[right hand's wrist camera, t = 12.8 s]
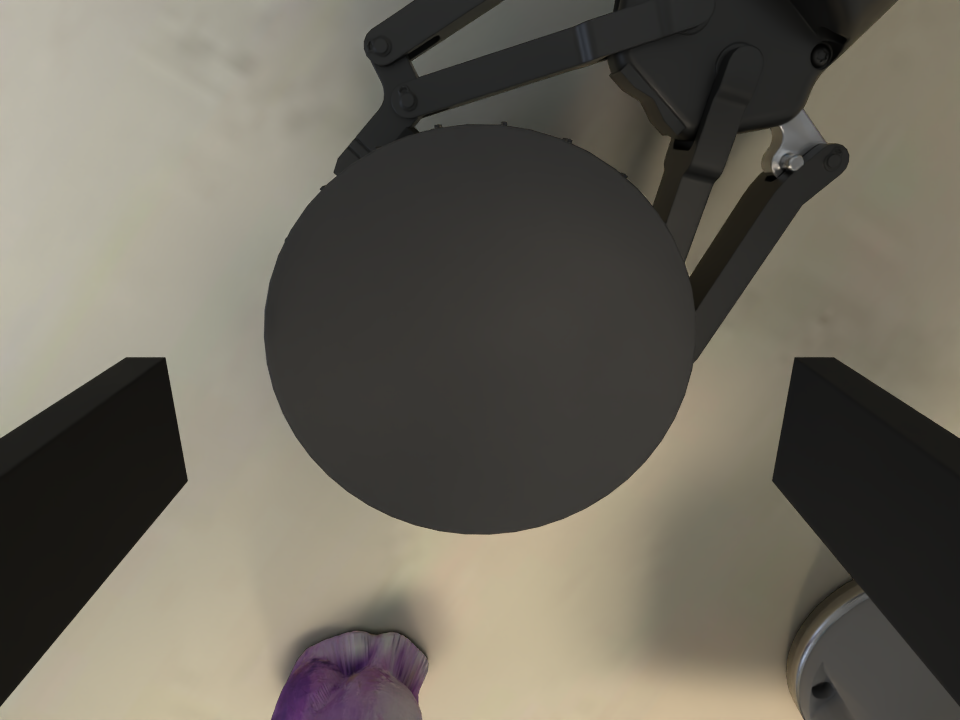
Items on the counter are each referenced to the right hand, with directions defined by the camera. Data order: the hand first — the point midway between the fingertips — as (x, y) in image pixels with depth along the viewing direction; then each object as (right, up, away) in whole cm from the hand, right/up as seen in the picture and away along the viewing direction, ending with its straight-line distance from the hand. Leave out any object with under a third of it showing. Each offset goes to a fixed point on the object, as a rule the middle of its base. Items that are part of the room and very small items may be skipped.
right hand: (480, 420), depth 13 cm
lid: (0, +1, +4) cm, 4 cm away
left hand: (-3, +2, +14) cm, 14 cm away
